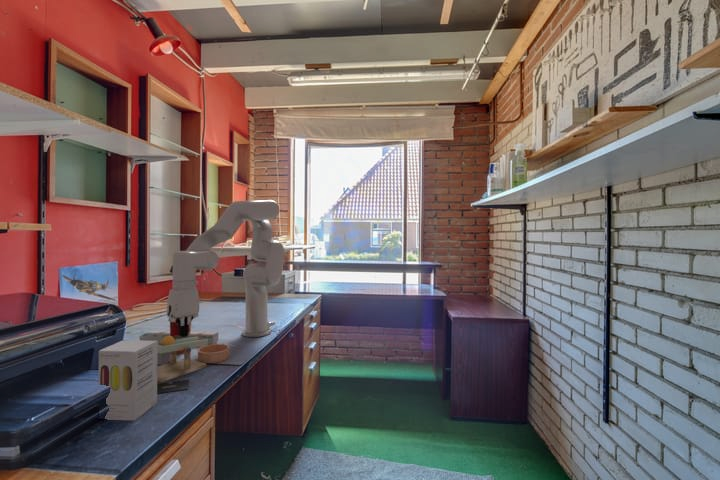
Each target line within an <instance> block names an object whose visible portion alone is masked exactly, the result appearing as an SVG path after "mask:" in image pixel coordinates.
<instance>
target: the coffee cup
mask: <svg viewBox="0 0 720 480" xmlns="http://www.w3.org/2000/svg"><path fill="white" fill-rule="evenodd" d="M191 329H192V322H191V323H190V324H189V332H188V335H190V331H192V330H191ZM169 331H170V336H172V337H173V338H174V340H177V339H175V335H179V333H178V331H179V325H177V323H175V322H169ZM178 354H180V355H181V354H184V350H178V351H176V355H178Z"/></svg>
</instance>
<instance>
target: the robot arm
mask: <svg viewBox="0 0 720 480" xmlns="http://www.w3.org/2000/svg"><path fill="white" fill-rule="evenodd" d="M280 211H281V210H280V206H279V204H278V203H277V202H276V201H275V200H273V199H267V200H266V199H265V200H263V199H262V200H261V199H260V200H254V199H252V200H250V199H249V200H236V201H233V202H231V203H230V204H229V205H228V206H227V207H226V209H225V210H224V212H223V213H222V214H221V215H220V217H219V218H218V219H217V221H216V222H215V223H214V224H213V226H211V227H209V228H208V229H207V230H205V231H204V232H203V233H201V234H200V235H198V236H197V237H196V238H195V239H193V241H192V242H191V243H190V245H189V246H188V247H187V249H185V250H179V251H178V250H177V251H175V252H174V253H173V254H172V289H169V293H168V297H167V304H166V316H167V317H168V320H167V321H168V322H169V323H170V322H175V323H177V325H179V331H178V333H179V336H183V337H185V336H188V332H189V324H190V323H191V324H192V321H193V320H194V319H197V317H199V313H200V296H199V290H198V288H197V285H198V284H199V283H200V282H199V280H197V270H198V271H200V270H202V271H210V270H213V269H215V268H216V267H218V265H219V262H220V259H219V258H220V257H219V255H218V254H217V252H214V251H213V250H211V249H212V248H213V247H215V246H217V245H220V244H224V243H225V242H227V241H230V240H231V239H232V238H233V237H235V235H236V234H237V232H238V230H239V229H240V227H241V226H242V225H243V223H244V222H251V224H252V228H253V232H252V239H251V247H250V257H251V258H252V260H255V261H259V262H265V264H264V263H251V264H248V265H247V266H245V268H244V269H243V275H242V276H243V277H242V278H243V282H244V286H245V287H244V289H245V328H244V330H242V331H241V335H242V336H244V337H247V338H258V337H265V336H268V335H270V334H271V332H272V330H271V327H272V326H275V325H276V322H275V320H272V321H268V303H269V302H268V298H269V297H268V295H269V294H268V289H267V287H274V286H277V285H278V284H279V283H280V281H281V279H282V274H283V268H284V261H285V249H284V245H283V244H282V242H281V241H278V240H274V239H273V226H272V224H271V222H270V220H274V219H277V217H278V215H280Z"/></svg>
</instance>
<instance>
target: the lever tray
mask: <svg viewBox="0 0 720 480" xmlns="http://www.w3.org/2000/svg"><path fill="white" fill-rule="evenodd" d="M175 339H177V340H175V341H174V344H173V345H166V346H163V345H162V342H158V354H157V365H159V366H162V365H165V364H168V363H170V352H173V351H178V350H184V348H185V347H191V349H194V348H201V347H203V346H207V345H209V344H208V339H205V340H198V337H194V336H192V335H188V336H185V337H183V336H179V335H175Z"/></svg>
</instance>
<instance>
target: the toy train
mask: <svg viewBox="0 0 720 480" xmlns="http://www.w3.org/2000/svg"><path fill="white" fill-rule="evenodd" d="M190 335H192V336H194V337H198V340H205V339H208V345H211V344H218V342H219V331H206V330H202V331H198V330H197V331H196V330H195V331H194V330H193V331H192V330H191V331H190ZM165 336H170V330H169V329H164V330H161V329H160V330H159V329H155V330H150V331H146V332H143V334H140V335H139V340H142V341H158V342H162V339H163V338H164V337H165Z"/></svg>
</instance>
